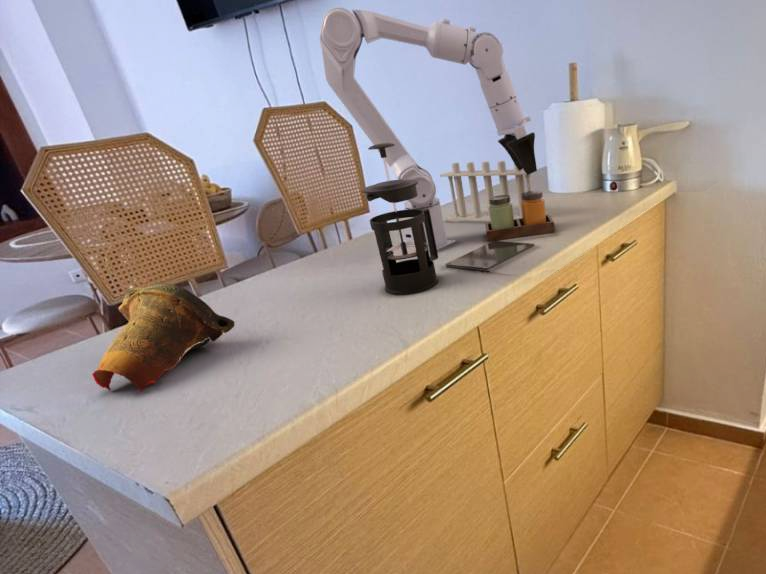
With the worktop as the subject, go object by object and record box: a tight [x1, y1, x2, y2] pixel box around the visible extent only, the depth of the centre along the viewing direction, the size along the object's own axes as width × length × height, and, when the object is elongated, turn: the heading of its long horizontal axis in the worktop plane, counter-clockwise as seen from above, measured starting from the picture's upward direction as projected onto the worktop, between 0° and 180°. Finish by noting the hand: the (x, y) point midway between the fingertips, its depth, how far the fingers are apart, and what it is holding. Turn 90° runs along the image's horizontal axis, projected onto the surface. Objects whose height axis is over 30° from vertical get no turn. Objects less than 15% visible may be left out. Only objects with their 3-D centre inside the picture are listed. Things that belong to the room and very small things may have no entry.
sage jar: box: [488, 194, 515, 230], centre depth 115 cm, size 5×5×8 cm
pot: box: [92, 283, 236, 393], centre depth 77 cm, size 17×11×18 cm
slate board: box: [445, 240, 535, 273], centre depth 105 cm, size 15×10×1 cm, turn 144°
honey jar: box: [521, 190, 547, 226], centre depth 115 cm, size 5×5×8 cm
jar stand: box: [484, 213, 556, 243], centre depth 117 cm, size 14×7×3 cm, turn 94°
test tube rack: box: [439, 160, 538, 223], centre depth 129 cm, size 25×4×13 cm, turn 57°
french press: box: [361, 143, 439, 296], centre depth 91 cm, size 12×9×23 cm
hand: (527, 170), depth 114 cm, fingers open, 7 cm apart
